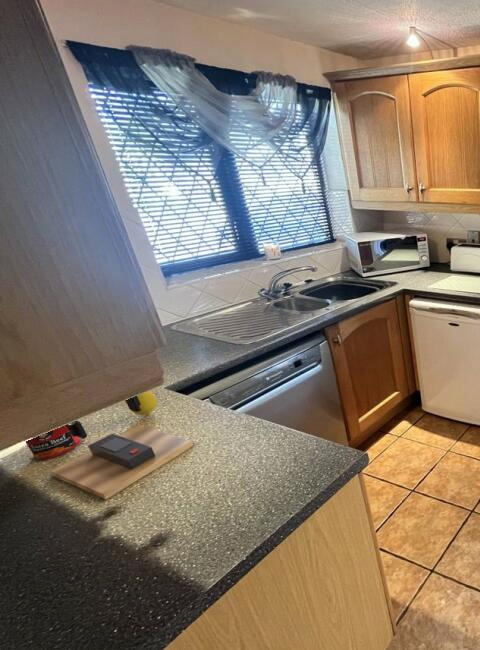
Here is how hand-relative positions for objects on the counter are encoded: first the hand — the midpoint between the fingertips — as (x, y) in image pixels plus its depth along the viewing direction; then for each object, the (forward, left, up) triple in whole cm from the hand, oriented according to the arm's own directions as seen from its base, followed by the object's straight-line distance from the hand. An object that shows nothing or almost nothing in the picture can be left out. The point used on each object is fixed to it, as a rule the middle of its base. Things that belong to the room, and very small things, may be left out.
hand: (110, 422), depth 86 cm
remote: (0, 0, -9) cm, 9 cm away
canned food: (-21, -3, -11) cm, 24 cm away
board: (0, 0, -11) cm, 11 cm away
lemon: (-16, +13, -11) cm, 23 cm away
